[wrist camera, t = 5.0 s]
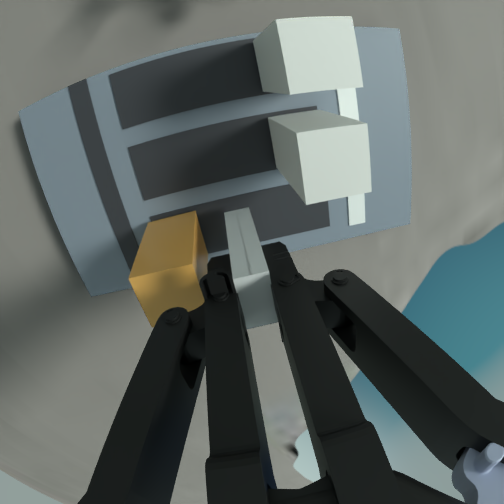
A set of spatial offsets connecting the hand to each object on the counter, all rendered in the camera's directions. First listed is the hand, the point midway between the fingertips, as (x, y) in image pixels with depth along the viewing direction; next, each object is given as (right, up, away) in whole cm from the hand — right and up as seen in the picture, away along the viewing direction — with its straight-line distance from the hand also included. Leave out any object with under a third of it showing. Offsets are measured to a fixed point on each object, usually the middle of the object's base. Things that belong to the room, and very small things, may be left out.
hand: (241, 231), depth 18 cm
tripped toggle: (-4, 0, +1) cm, 4 cm away
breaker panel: (-1, +5, +1) cm, 5 cm away
